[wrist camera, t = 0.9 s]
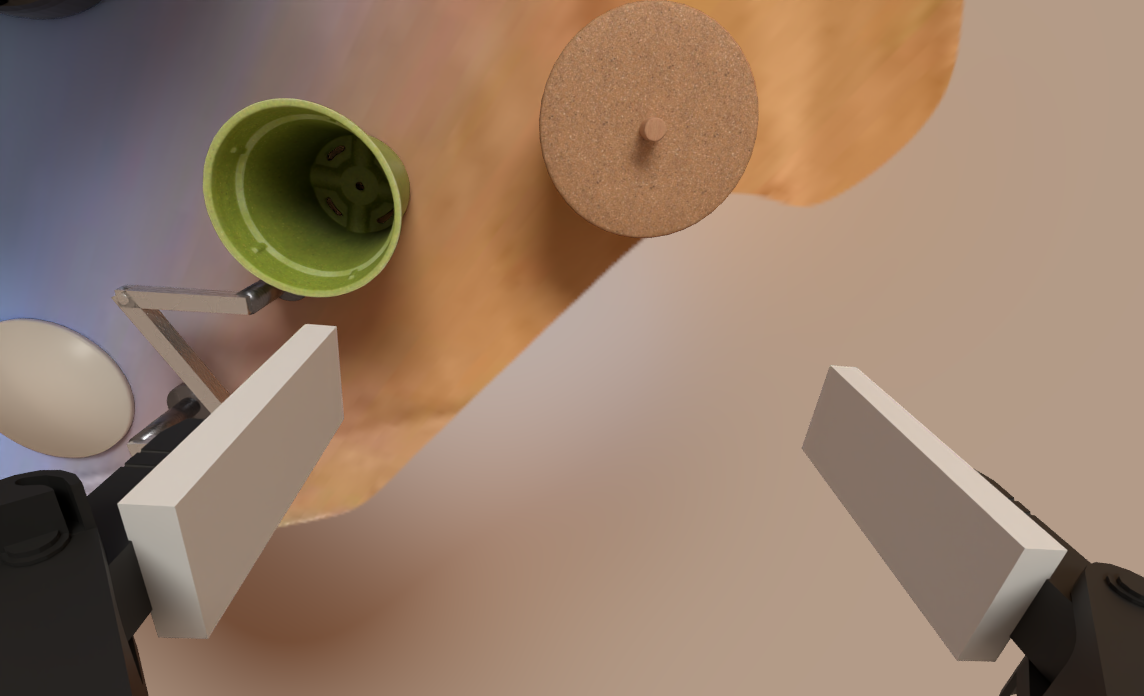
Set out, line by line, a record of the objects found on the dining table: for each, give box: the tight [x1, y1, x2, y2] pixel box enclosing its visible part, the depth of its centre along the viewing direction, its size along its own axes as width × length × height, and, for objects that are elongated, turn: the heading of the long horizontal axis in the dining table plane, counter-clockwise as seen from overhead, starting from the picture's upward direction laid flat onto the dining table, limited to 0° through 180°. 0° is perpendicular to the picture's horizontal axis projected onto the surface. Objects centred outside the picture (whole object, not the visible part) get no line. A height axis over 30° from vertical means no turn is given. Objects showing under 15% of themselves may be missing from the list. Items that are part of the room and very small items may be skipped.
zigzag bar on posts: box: [112, 280, 305, 457], centre depth 35 cm, size 11×16×7 cm
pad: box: [0, 318, 135, 458], centre depth 39 cm, size 11×11×1 cm
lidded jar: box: [539, 0, 758, 238], centre depth 29 cm, size 11×11×9 cm
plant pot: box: [203, 98, 410, 297], centre depth 30 cm, size 9×9×9 cm
